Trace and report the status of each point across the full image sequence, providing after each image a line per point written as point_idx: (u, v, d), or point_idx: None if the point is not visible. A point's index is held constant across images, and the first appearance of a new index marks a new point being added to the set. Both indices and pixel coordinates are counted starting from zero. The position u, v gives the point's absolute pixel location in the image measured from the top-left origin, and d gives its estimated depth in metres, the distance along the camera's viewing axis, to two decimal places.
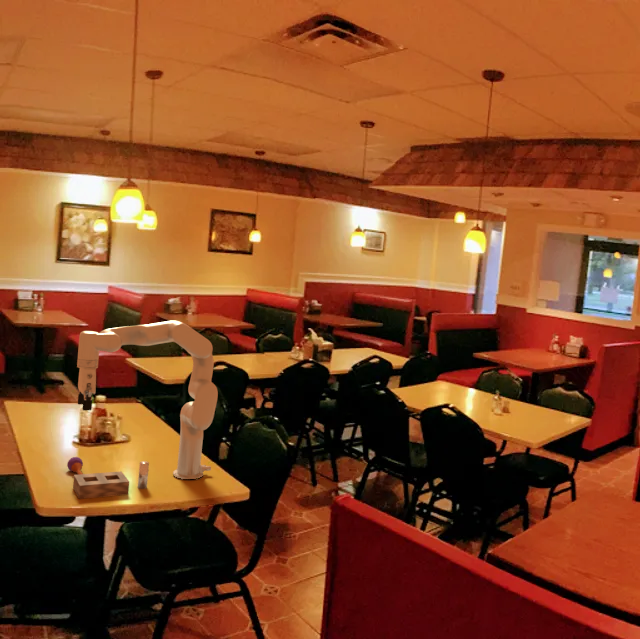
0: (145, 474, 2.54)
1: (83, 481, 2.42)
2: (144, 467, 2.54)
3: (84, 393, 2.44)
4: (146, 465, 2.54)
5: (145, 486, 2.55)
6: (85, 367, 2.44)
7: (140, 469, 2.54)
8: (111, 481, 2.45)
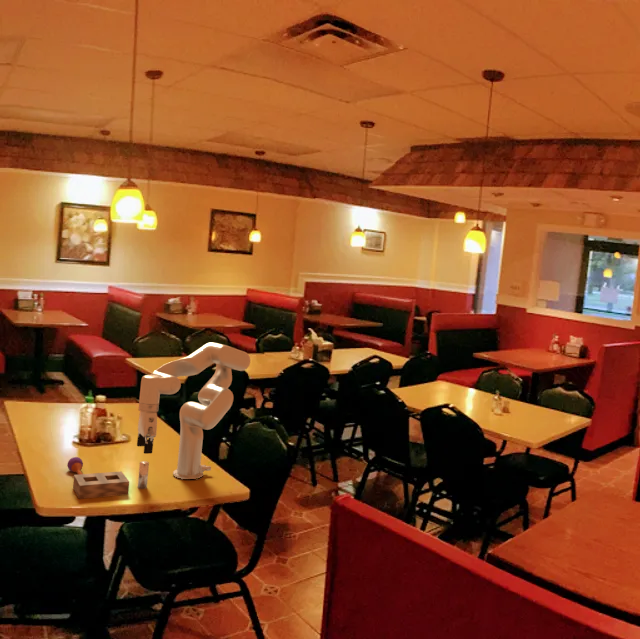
0: (145, 474, 2.54)
1: (83, 481, 2.42)
2: (144, 467, 2.54)
3: (146, 436, 2.49)
4: (146, 465, 2.54)
5: (145, 486, 2.55)
6: (147, 411, 2.50)
7: (140, 469, 2.54)
8: (111, 481, 2.45)
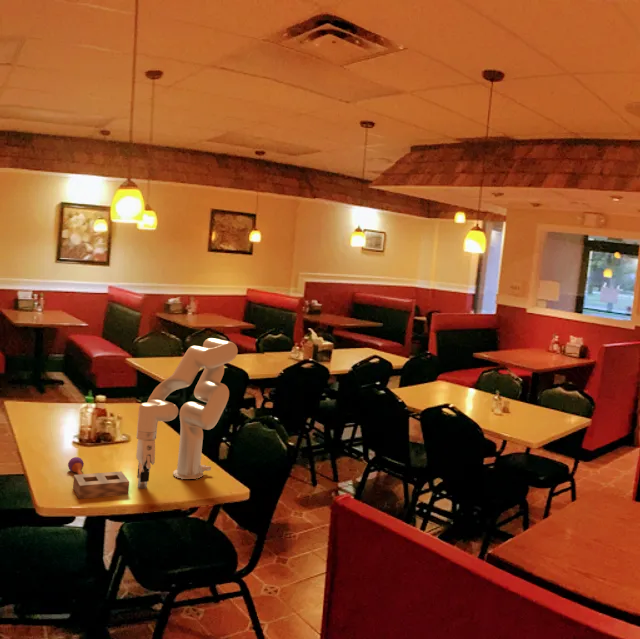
0: None
1: (83, 481, 2.42)
2: (144, 467, 2.54)
3: (143, 466, 2.52)
4: None
5: (145, 486, 2.55)
6: (145, 439, 2.51)
7: (140, 469, 2.54)
8: (111, 481, 2.45)
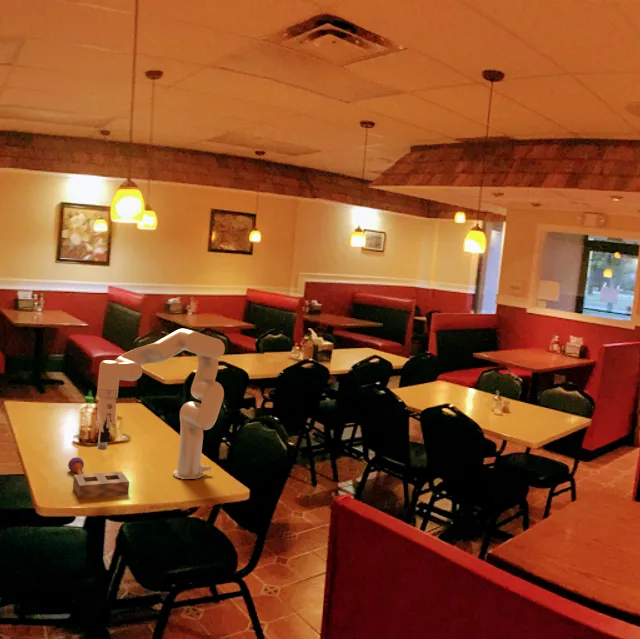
0: None
1: (83, 481, 2.42)
2: None
3: (102, 425, 2.42)
4: None
5: (105, 447, 2.45)
6: (105, 397, 2.41)
7: (100, 429, 2.44)
8: (111, 481, 2.45)
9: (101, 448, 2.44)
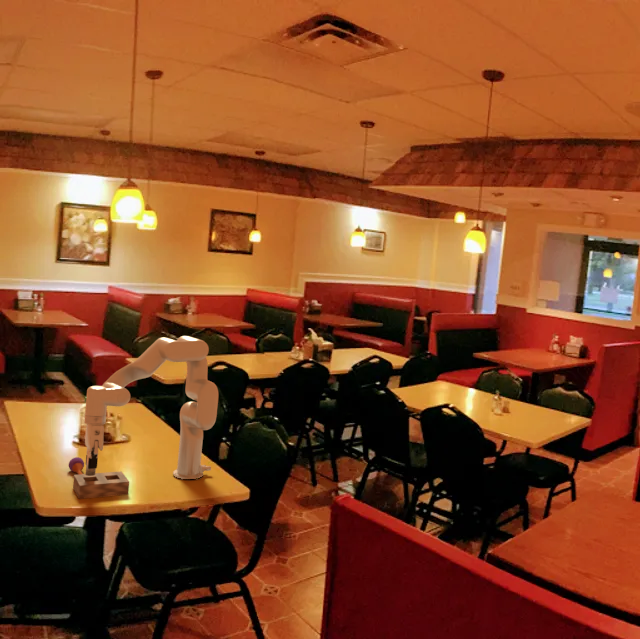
0: None
1: (83, 481, 2.42)
2: None
3: (90, 452, 2.41)
4: None
5: (93, 473, 2.44)
6: (93, 423, 2.40)
7: (88, 455, 2.43)
8: (111, 481, 2.45)
9: (89, 474, 2.43)
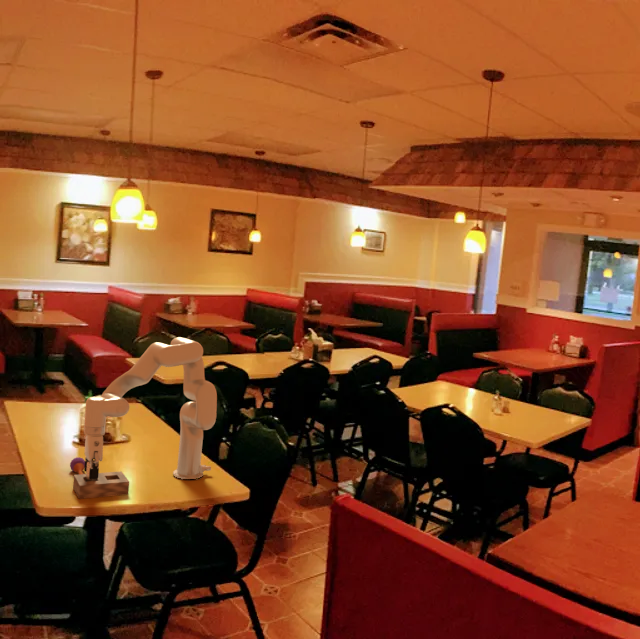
0: None
1: (83, 481, 2.42)
2: None
3: (91, 462, 2.40)
4: None
5: None
6: (92, 434, 2.40)
7: (87, 469, 2.44)
8: (111, 481, 2.45)
9: None
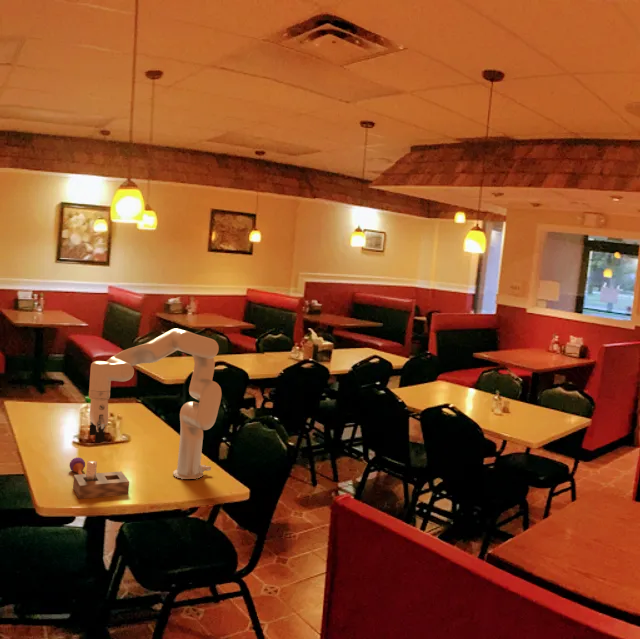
0: (93, 474, 2.44)
1: (83, 481, 2.42)
2: (92, 467, 2.43)
3: (96, 425, 2.40)
4: (94, 465, 2.44)
5: None
6: (97, 398, 2.40)
7: (87, 469, 2.44)
8: (111, 481, 2.45)
9: None
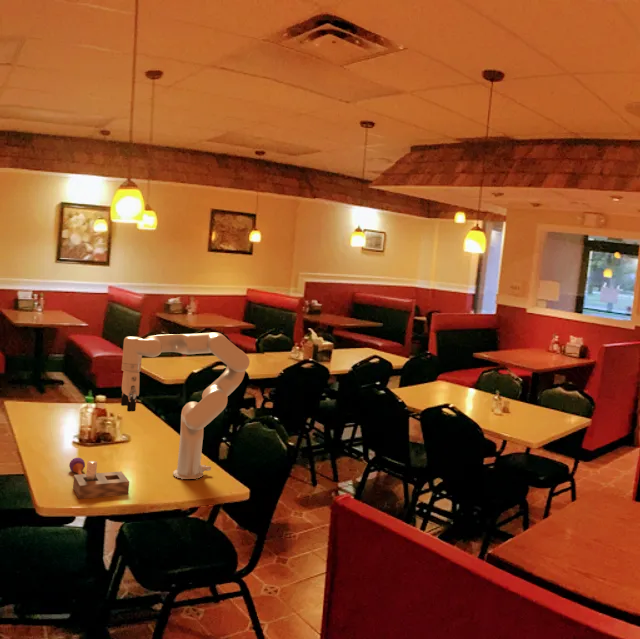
0: (93, 474, 2.44)
1: (83, 481, 2.42)
2: (92, 467, 2.43)
3: (129, 395, 2.59)
4: (94, 465, 2.44)
5: None
6: (129, 370, 2.59)
7: (87, 469, 2.44)
8: (111, 481, 2.45)
9: None
